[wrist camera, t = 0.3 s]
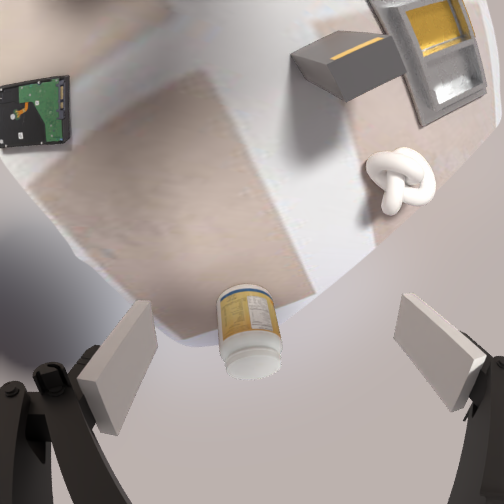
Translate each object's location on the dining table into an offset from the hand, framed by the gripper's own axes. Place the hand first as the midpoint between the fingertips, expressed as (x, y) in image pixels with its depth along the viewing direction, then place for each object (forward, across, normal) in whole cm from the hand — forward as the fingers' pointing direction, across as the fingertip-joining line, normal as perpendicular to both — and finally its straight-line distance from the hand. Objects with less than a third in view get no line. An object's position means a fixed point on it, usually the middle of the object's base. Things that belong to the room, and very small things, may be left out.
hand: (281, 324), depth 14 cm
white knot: (+35, +22, +10) cm, 43 cm away
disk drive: (+24, -34, +20) cm, 46 cm away
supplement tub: (+47, -3, -19) cm, 51 cm away
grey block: (+26, +9, +25) cm, 37 cm away
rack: (+25, +29, +31) cm, 49 cm away
